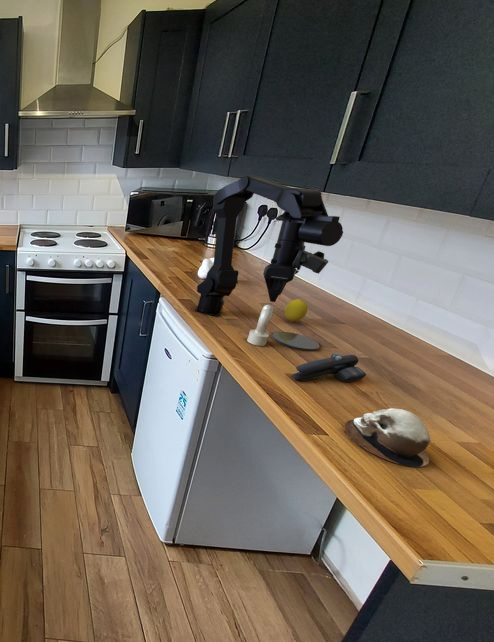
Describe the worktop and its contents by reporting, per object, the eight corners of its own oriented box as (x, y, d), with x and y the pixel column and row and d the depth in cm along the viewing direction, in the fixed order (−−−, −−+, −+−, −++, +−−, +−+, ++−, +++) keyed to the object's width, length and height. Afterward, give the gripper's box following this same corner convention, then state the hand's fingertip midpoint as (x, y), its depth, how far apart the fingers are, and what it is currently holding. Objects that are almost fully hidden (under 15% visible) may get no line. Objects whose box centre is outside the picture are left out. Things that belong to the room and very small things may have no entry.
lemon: (295, 319, 131) (304, 296, 127) (306, 326, 126) (315, 302, 122) (277, 317, 131) (285, 295, 128) (287, 324, 126) (296, 301, 123)
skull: (324, 418, 80) (371, 385, 78) (347, 446, 83) (393, 415, 81) (382, 460, 69) (440, 424, 67) (406, 490, 72) (462, 456, 70)
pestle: (245, 342, 114) (257, 304, 109) (248, 337, 117) (261, 300, 112) (263, 347, 111) (277, 309, 106) (267, 342, 114) (280, 305, 109)
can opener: (339, 367, 102) (348, 348, 99) (367, 382, 96) (377, 362, 93) (279, 372, 99) (287, 352, 96) (304, 387, 93) (313, 366, 90)
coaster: (268, 341, 115) (269, 339, 114) (275, 330, 122) (276, 328, 122) (316, 354, 108) (317, 353, 108) (320, 342, 115) (321, 340, 115)
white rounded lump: (225, 278, 169) (231, 257, 165) (230, 286, 159) (236, 265, 155) (196, 274, 172) (201, 254, 169) (198, 282, 162) (204, 261, 159)
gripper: (329, 247, 91) (309, 312, 96) (333, 240, 105) (315, 297, 110) (271, 242, 98) (255, 302, 103) (281, 235, 112) (267, 290, 117)
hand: (275, 298), depth 108 cm, fingers open, 9 cm apart
